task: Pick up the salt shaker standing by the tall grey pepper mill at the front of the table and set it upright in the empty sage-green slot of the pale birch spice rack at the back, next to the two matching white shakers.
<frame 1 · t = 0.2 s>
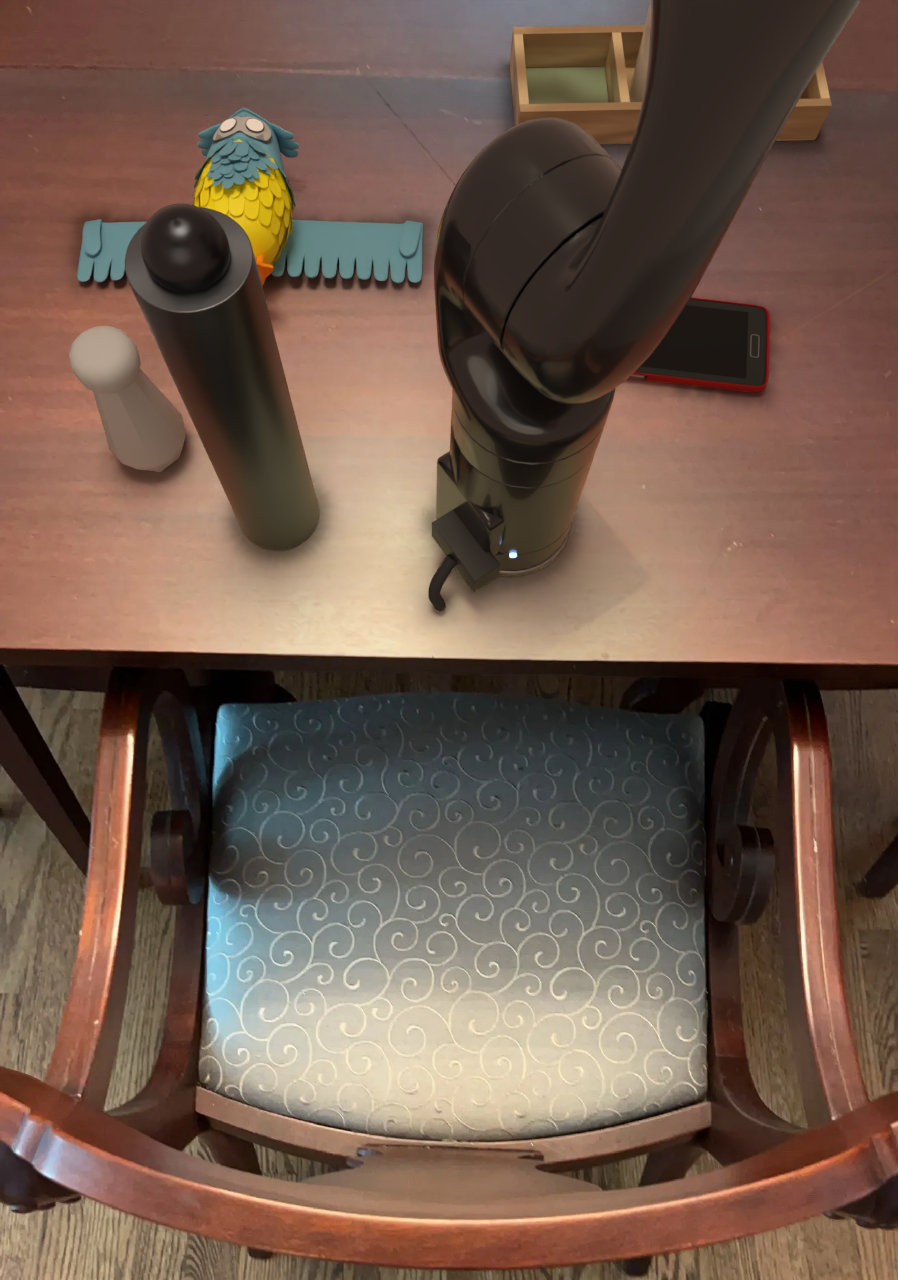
owl figurine: (254, 245, 79), on the table
cell phone: (674, 344, 77), on the table
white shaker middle: (660, 100, 83), point 1 cm above the table, touching spice rack
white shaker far: (755, 98, 84), point 1 cm above the table, touching spice rack
salt shaker: (155, 449, 73), on the table
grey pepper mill: (279, 513, 71), on the table
spice rack: (659, 106, 84), on the table
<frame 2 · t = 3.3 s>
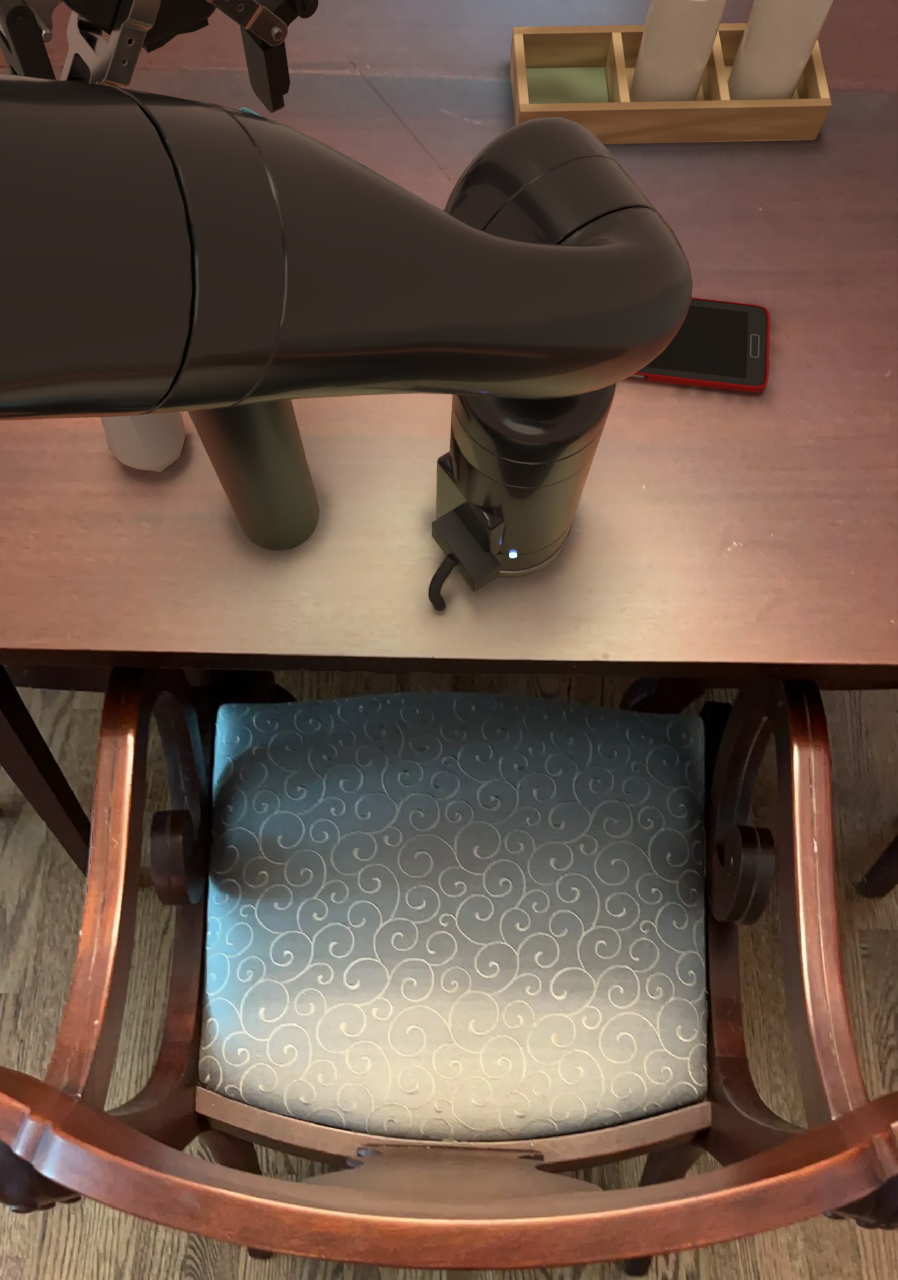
hand: (196, 136, 48), 27 cm above the table, tool pointing down, fingers open, 8 cm apart
nothing on the table moved.
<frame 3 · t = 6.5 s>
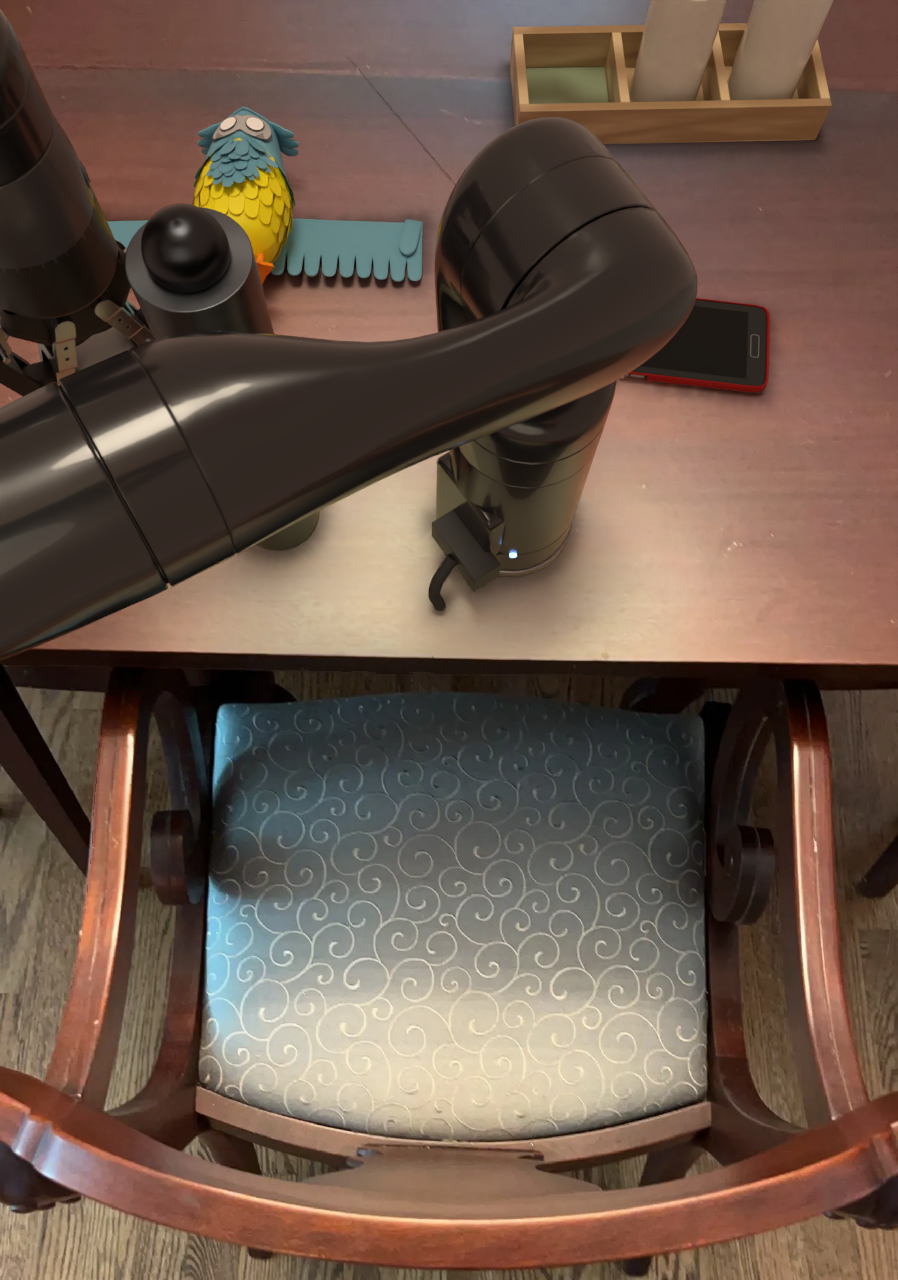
hand: (121, 388, 65), 8 cm above the table, tool pointing down, fingers closed on salt shaker, 4 cm apart
salt shaker: (155, 449, 73), on the table, touching gripper
everything else where it was.
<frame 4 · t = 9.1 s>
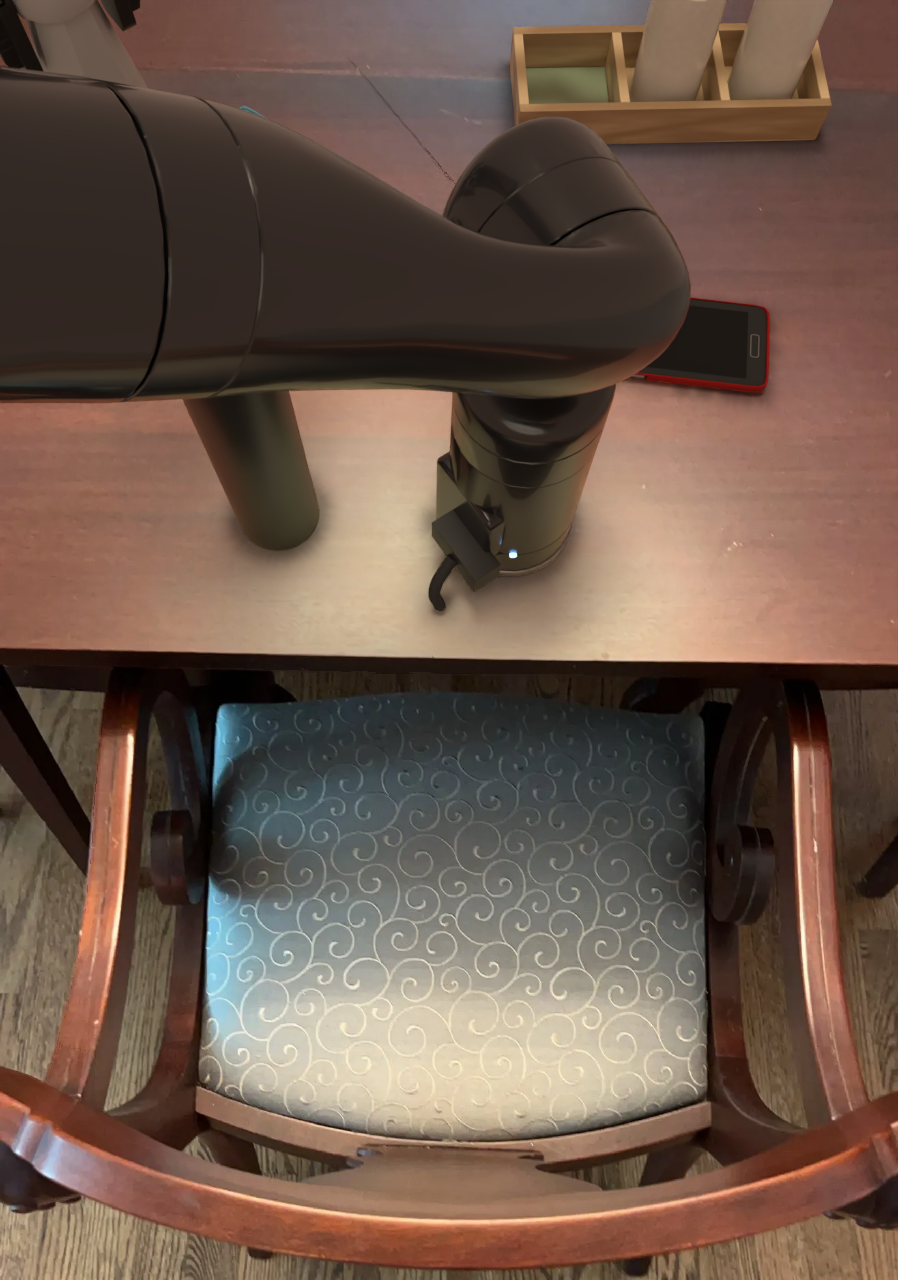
hand: (73, 39, 45), 31 cm above the table, tool pointing down, fingers closed on salt shaker, 4 cm apart
salt shaker: (130, 177, 53), point 23 cm above the table, touching gripper
everything else where it was.
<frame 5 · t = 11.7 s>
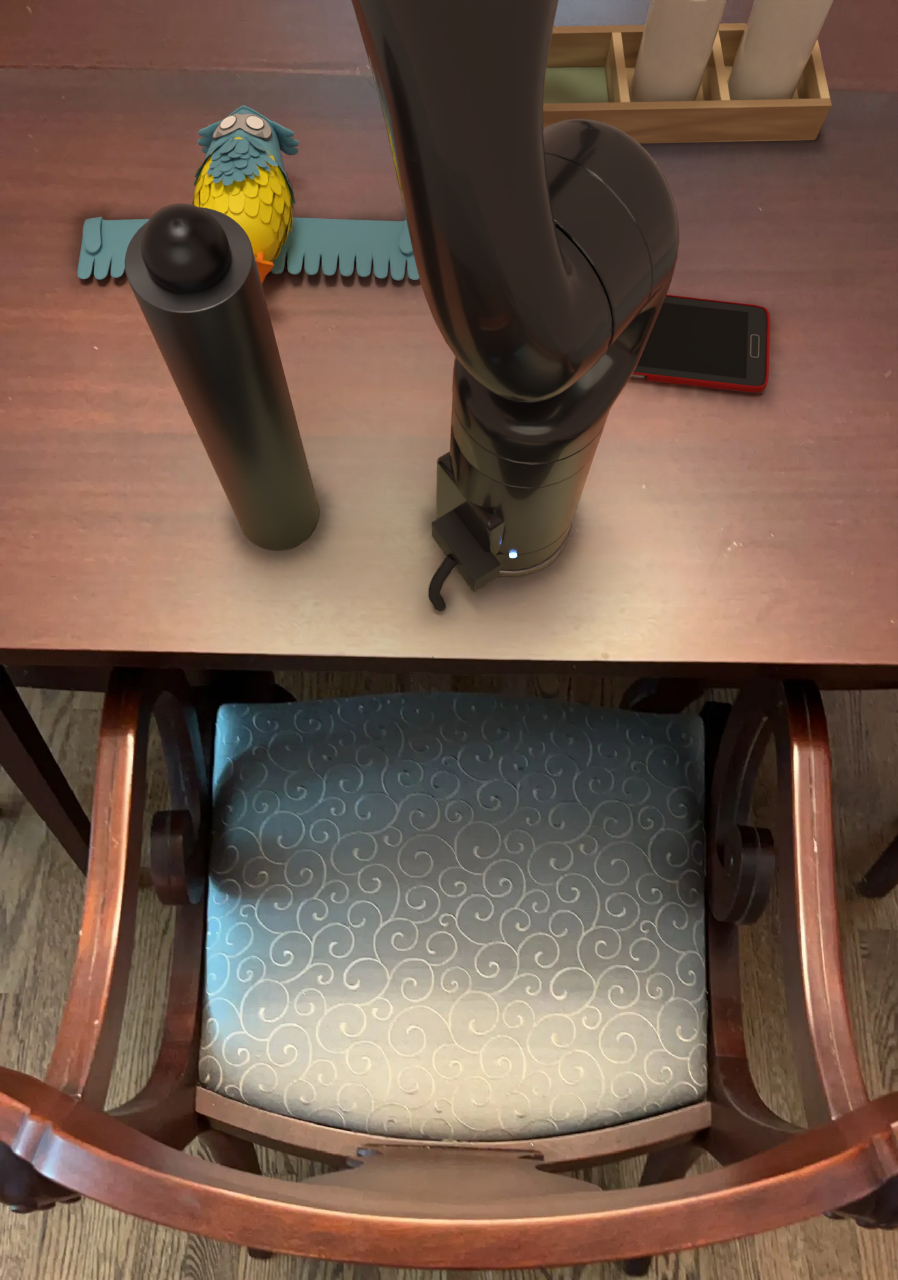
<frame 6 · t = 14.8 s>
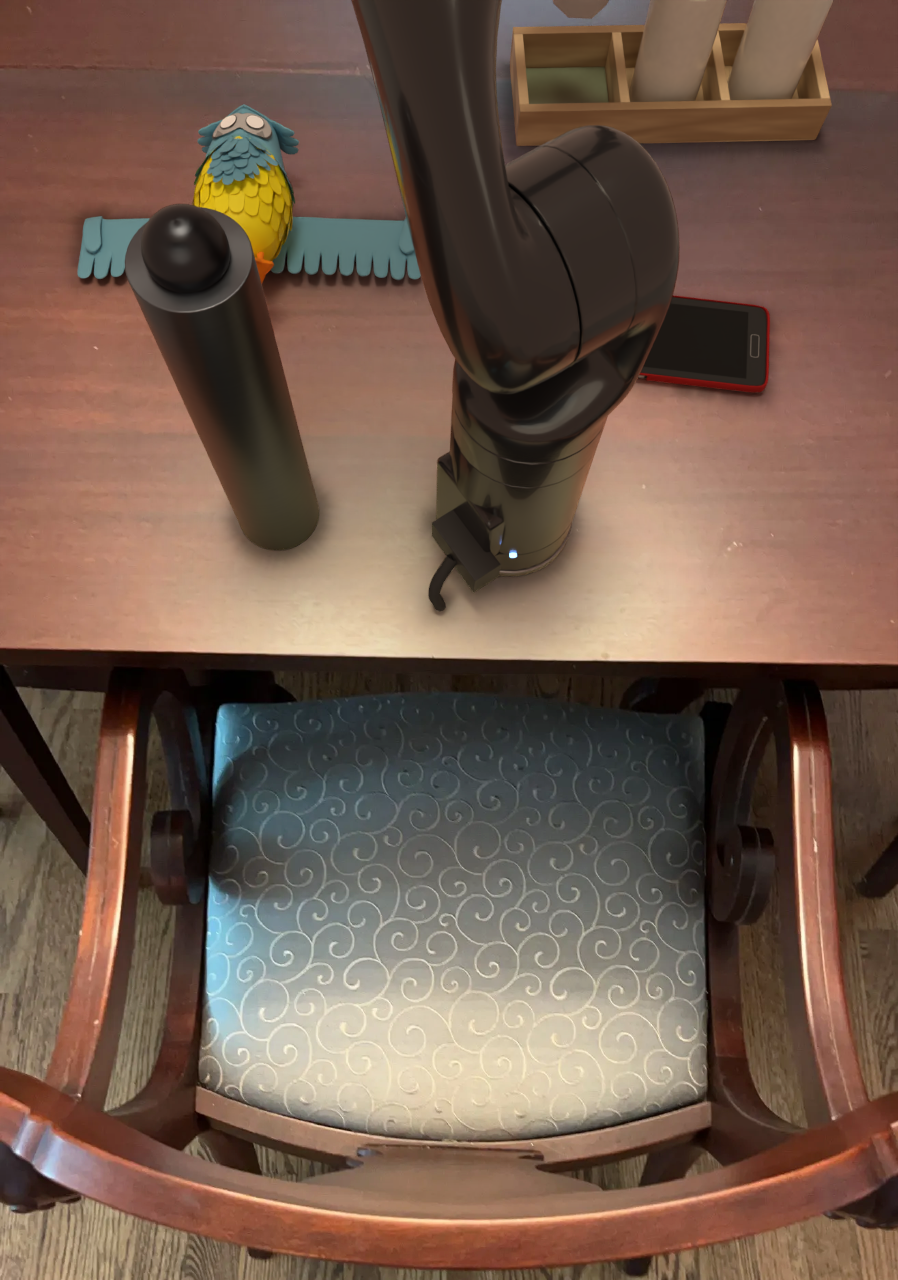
salt shaker: (579, 2, 74), point 10 cm above the table, touching gripper
everything else where it was.
when the fingers open (9 cm above the table, at t = 17.3 s): salt shaker stays where it is, resting on spice rack.
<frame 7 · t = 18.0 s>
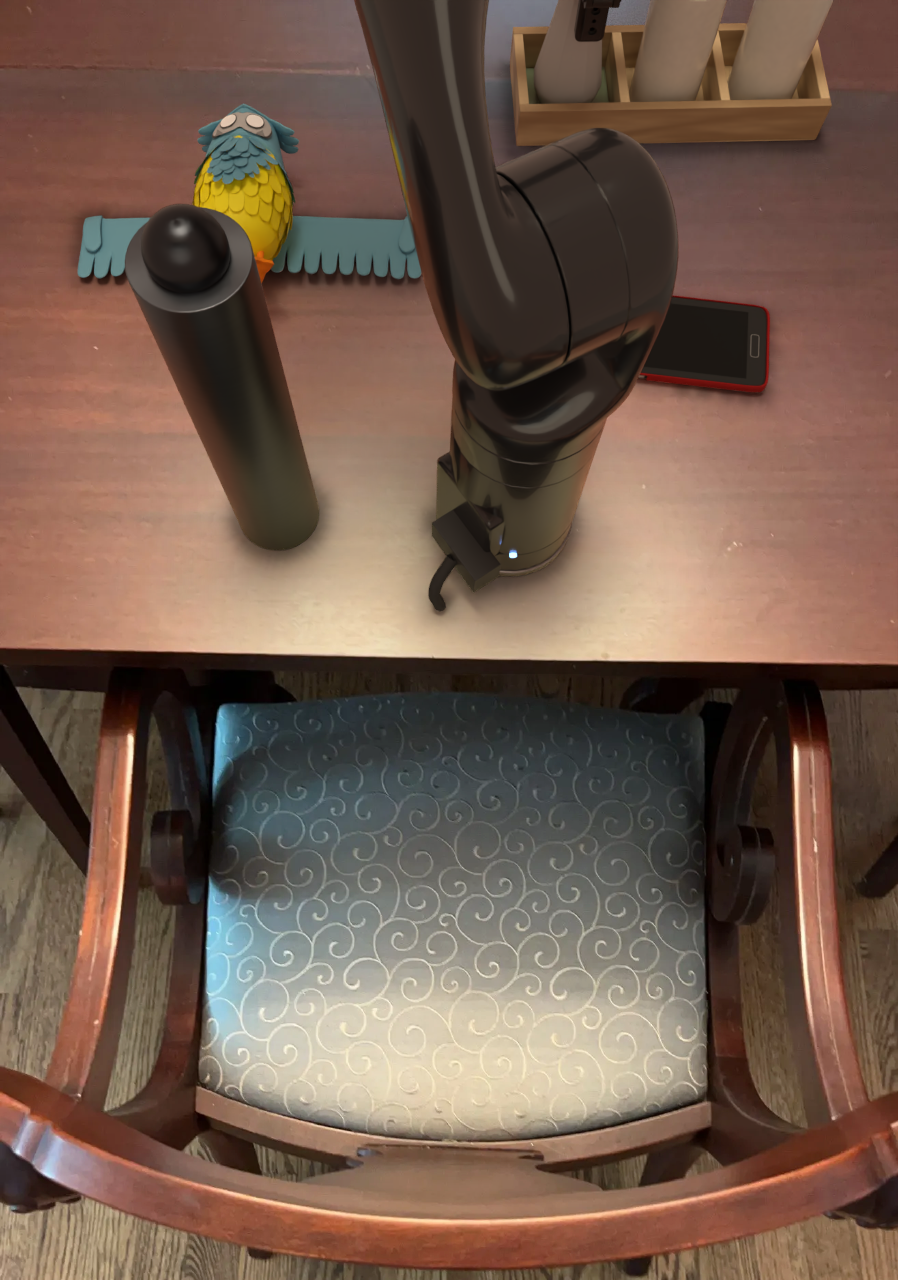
salt shaker: (563, 102, 83), point 1 cm above the table, touching spice rack
everything else where it was.
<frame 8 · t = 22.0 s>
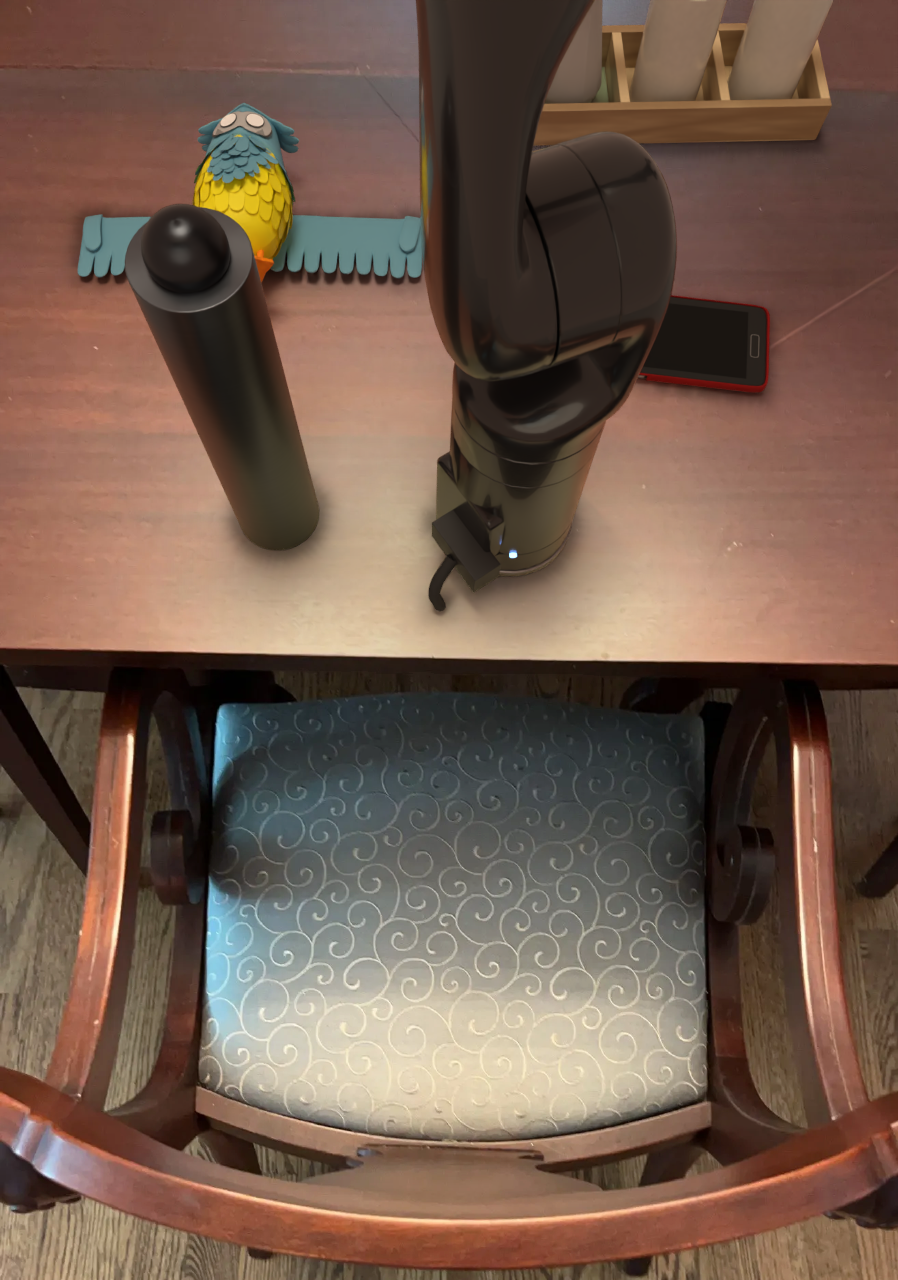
nothing on the table moved.
at the end: salt shaker 0.2 cm from the target spot in the spice rack, point 0.6 cm above the spice rack's base; salt shaker tilted 0°; salt shaker touching spice rack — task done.
